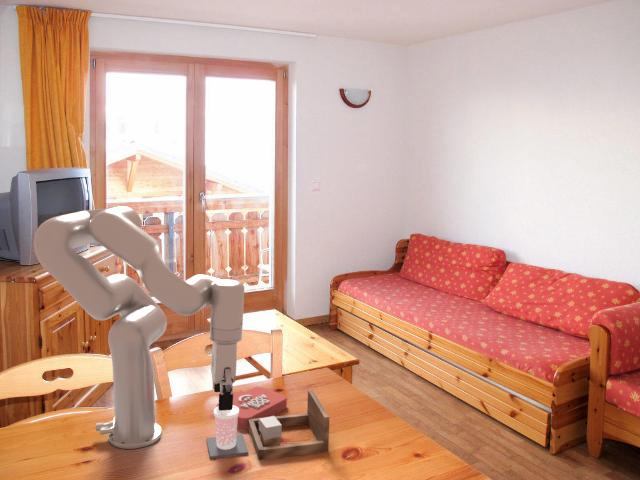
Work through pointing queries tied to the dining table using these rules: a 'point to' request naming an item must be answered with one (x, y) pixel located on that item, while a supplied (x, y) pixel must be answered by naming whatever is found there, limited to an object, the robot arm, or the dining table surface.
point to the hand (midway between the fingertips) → (222, 400)
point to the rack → (313, 417)
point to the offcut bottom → (269, 441)
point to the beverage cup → (226, 427)
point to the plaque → (257, 404)
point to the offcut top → (270, 427)
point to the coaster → (218, 453)
